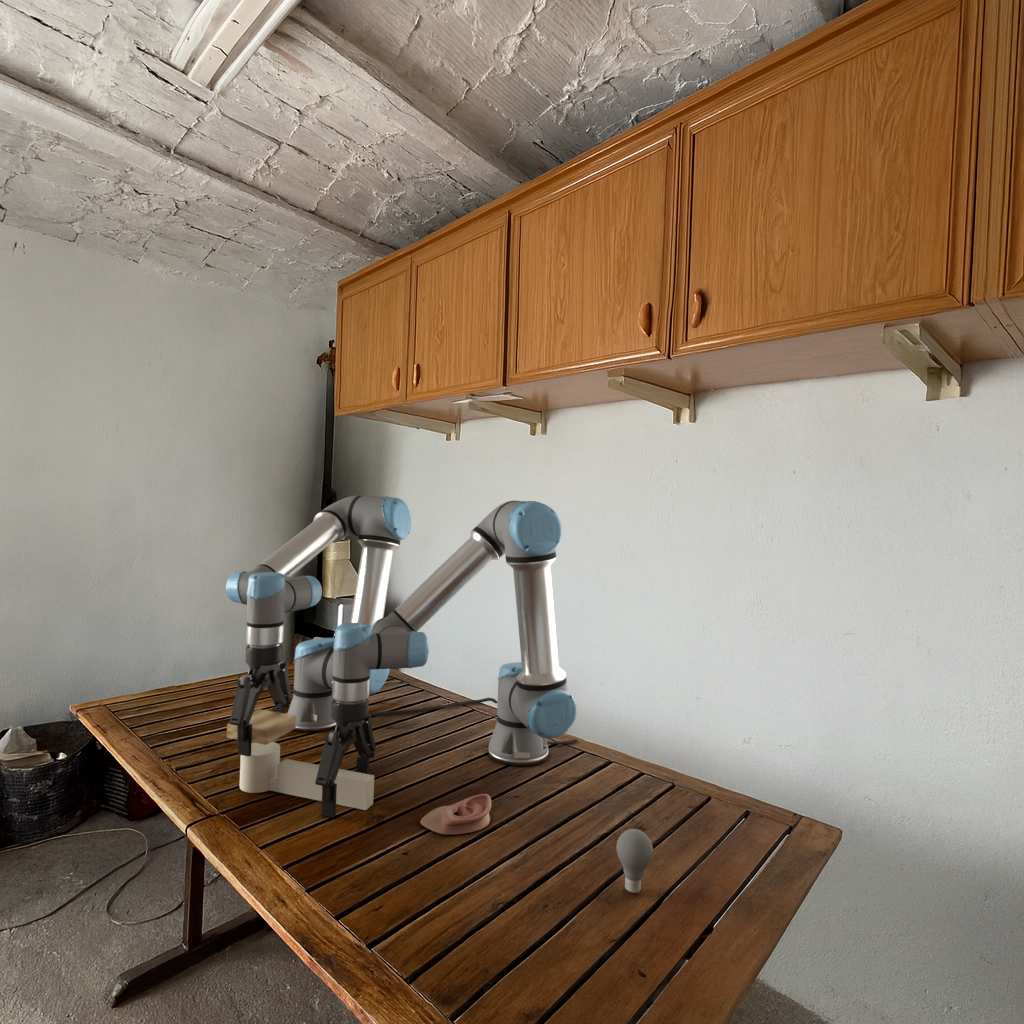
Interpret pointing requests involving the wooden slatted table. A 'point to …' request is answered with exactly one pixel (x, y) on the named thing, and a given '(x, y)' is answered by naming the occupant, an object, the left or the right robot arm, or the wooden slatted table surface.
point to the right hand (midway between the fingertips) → (345, 801)
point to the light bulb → (634, 857)
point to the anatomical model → (460, 816)
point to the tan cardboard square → (266, 726)
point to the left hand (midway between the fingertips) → (261, 745)
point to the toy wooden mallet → (300, 778)
